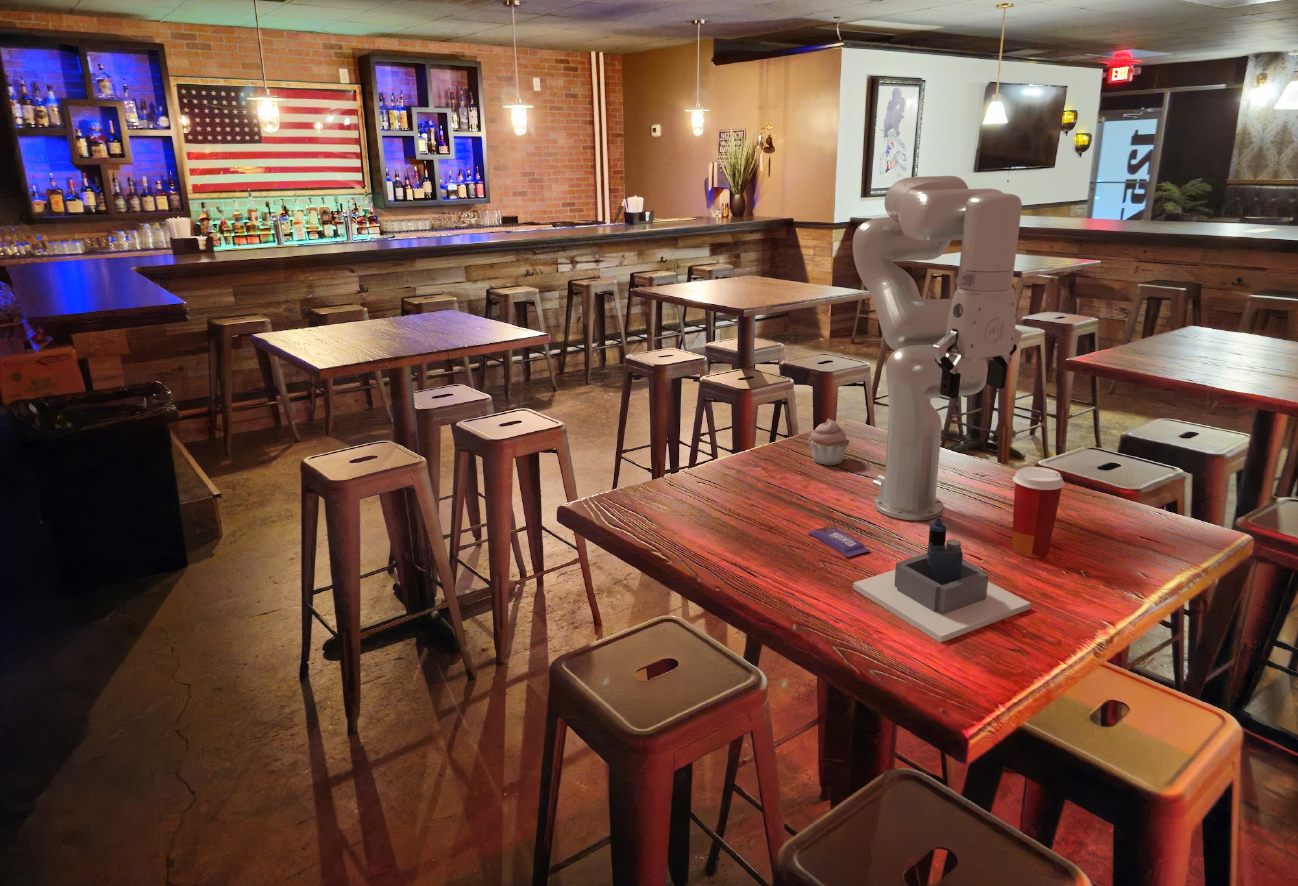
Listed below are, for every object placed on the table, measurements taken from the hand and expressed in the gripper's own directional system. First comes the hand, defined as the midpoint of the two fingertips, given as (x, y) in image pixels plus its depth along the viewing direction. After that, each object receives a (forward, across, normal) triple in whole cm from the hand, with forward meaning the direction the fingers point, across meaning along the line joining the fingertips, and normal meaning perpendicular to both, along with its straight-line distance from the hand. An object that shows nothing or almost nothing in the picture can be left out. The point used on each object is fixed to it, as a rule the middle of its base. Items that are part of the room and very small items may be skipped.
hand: (972, 391), depth 128 cm
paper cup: (+29, +13, -4) cm, 32 cm away
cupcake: (+31, +12, +49) cm, 59 cm away
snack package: (+30, -13, +14) cm, 36 cm away
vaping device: (+28, -12, -9) cm, 31 cm away
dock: (+29, -12, -9) cm, 32 cm away
